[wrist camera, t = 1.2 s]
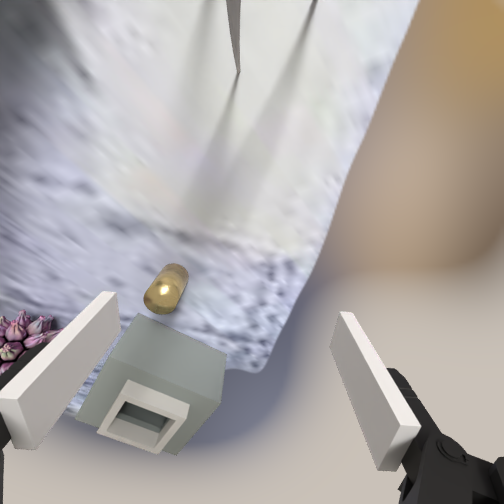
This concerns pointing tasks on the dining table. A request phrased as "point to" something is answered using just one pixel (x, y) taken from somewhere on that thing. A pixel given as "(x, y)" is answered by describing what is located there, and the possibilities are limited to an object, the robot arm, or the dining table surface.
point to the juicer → (234, 28)
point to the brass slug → (166, 289)
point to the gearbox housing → (155, 388)
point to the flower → (22, 337)
